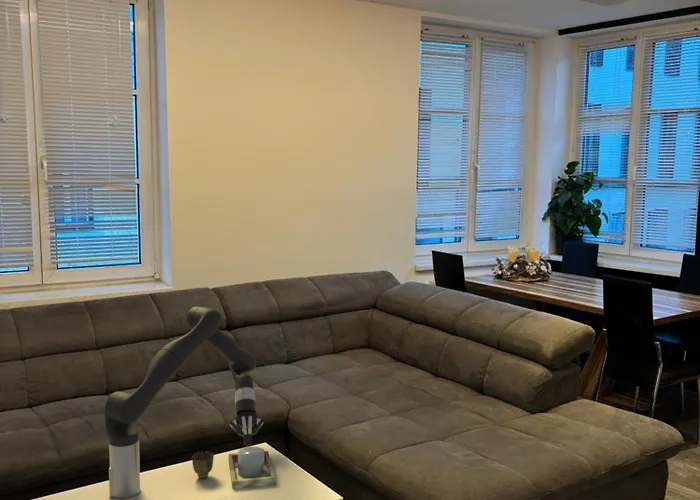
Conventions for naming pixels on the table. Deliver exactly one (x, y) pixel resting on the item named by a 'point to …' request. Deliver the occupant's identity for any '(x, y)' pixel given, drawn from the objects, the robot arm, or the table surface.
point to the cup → (202, 463)
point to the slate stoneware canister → (251, 462)
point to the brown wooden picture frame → (252, 481)
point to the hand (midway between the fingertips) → (248, 445)
